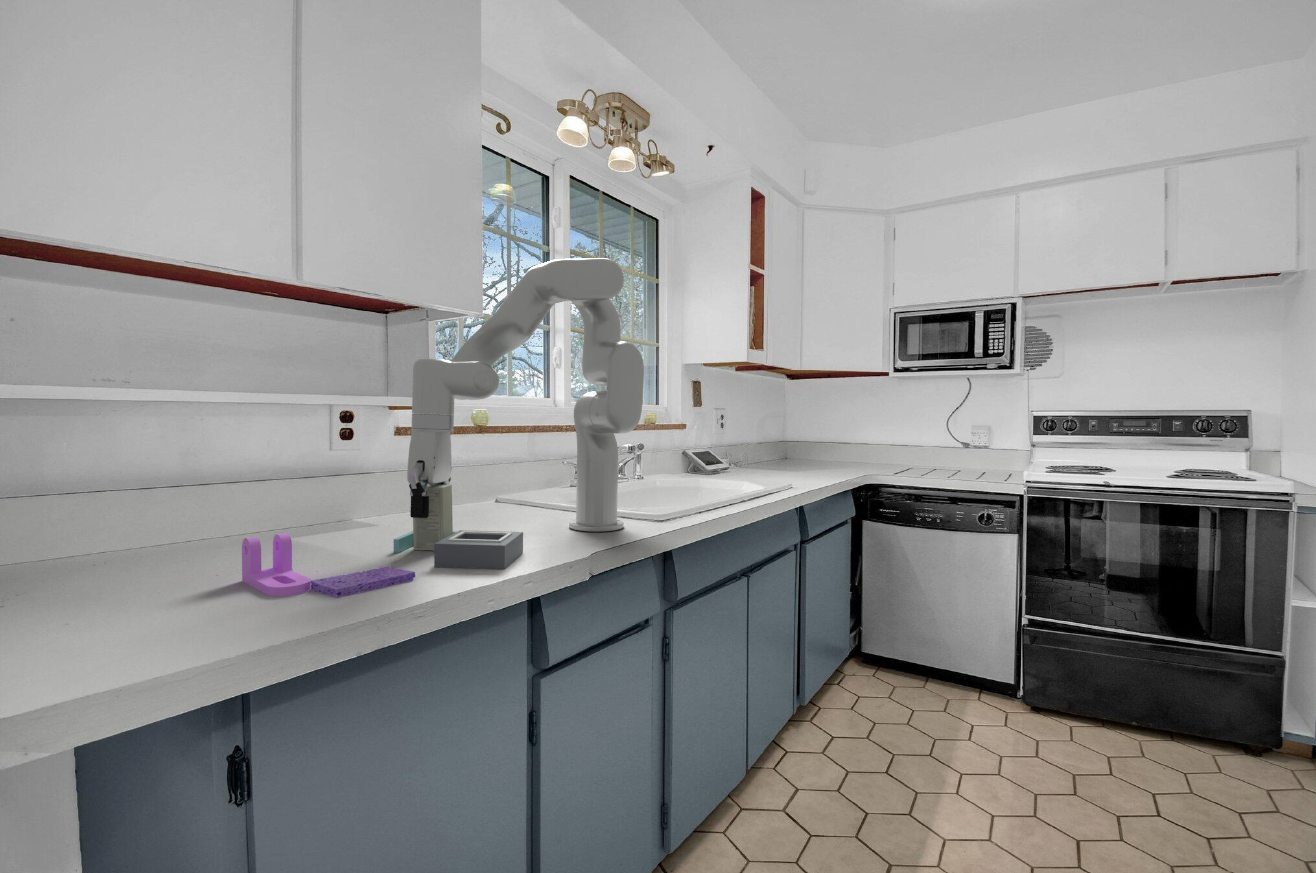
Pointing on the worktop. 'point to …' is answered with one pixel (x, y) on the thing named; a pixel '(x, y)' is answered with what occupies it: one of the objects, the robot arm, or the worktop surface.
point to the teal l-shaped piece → (405, 542)
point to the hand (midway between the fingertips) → (430, 513)
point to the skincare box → (434, 519)
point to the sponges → (361, 581)
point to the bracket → (276, 578)
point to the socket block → (478, 549)
